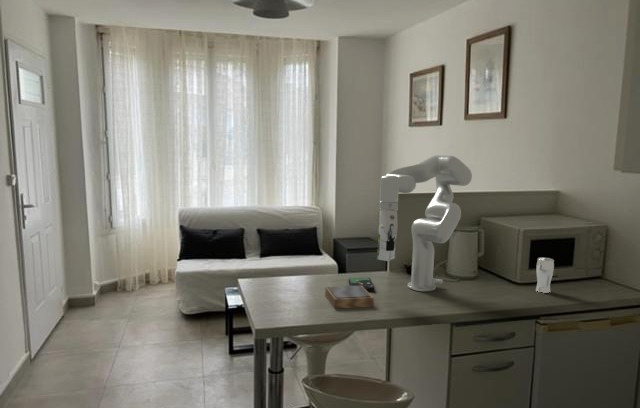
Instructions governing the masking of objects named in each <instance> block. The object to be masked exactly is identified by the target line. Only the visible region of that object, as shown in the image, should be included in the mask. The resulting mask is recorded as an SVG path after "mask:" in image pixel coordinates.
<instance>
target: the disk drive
mask: <svg viewBox="0 0 640 408" xmlns="http://www.w3.org/2000/svg"><path fill="white" fill-rule="evenodd" d="M348 284H349V285H348V286H363V287H364V288H365V289H366V290H367V291H368V292H369V293H375V286H374V284H373V281H372V279H371V277H349V278H348Z"/></svg>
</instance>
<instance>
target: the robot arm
mask: <svg viewBox="0 0 640 408" xmlns="http://www.w3.org/2000/svg"><path fill="white" fill-rule="evenodd" d="M434 178H435V185H436V191H435V194H434V195H433V196H432V198H431V200H430V202H429V203H428V205H427V206H426V209H425V211H424V216H425V218H424V217H421V218H417V219H415V220H414V221H413V222H412V224H411V228H410V229H411V237H412V257H411V259H412V260H411V261H412V262H411V276H410V278H411V279H410V281H409V282H407V288H408V289H411V290H413V291H416V292H433V291H435V290H436V289H437V286H436V285H437V284H438V285H439V284H442V285H443V283H444V281H443V279H442V278H441V279H438V278H434V264H435V263H434V261H435V247H434V244H433V243H437V244H445V243H446V242H448V240H449V239H450V238H451V236H452V234H453V233H454V231H455V229H456V227H457V226H458V224H459V221H460V220H461V217H462V210H461V207H460V206H459V205H458V204H457V203H456V202H454V203H453V201H454V192H453V190H452V188H451V186H458V187H459V186H461V187H463V186H468V185H469V184H470V183H471V181H472V178H473V174H472V172H471V169H470V168H469V167H468V166H467V165H466V164H465V163H464V162H463V161H461V160H460V159H459V158H458V157H456V156H453V155H440V154H439V155H433V156H431V157H428V158H427V159H424V160H423V161H420V162H419V163H415V164H412V165H407V166H403V167H399V168H396V169H393V170H392V171H390V172H387V173H386V174H385V175H382V176H381V177H380V183H379V185H380V186H379V201H378V203H379V205H378V208H379V210H380V215H379V225H383V228H384V233H385V234H386V235H387V241H386V250H387V251H394V241H395V235H396V234H397V235H398V210H399V209H398V208H399V194H400V193H402V194H410V193H412V192H413V191H414V190H415V189H416V187H417V184H420V183H425V182H426V183H427V182H428V181H430V180H431V179H434ZM389 229H390V230H391V233H388V232H389ZM389 235H390V237H389Z"/></svg>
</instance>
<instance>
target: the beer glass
mask: <svg viewBox="0 0 640 408" xmlns="http://www.w3.org/2000/svg"><path fill="white" fill-rule="evenodd" d="M554 262H555V260H554V259H553V258H550V257H538V258H537V262H536V269H535V270H536V281H537V283H536V287H535V292H537V291H538V292H537V293H539V292H543V293H542V294H544V293H549V292H550V293H551V281H552V278H553V275H554V268H555V263H554ZM550 293H549V294H550Z"/></svg>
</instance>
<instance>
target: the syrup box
mask: <svg viewBox="0 0 640 408" xmlns="http://www.w3.org/2000/svg"><path fill="white" fill-rule="evenodd" d="M388 233H391V230H390V229H389V232H388ZM377 234H378V235H377V236H378V237H377V249H376V250H377V252H376V254H377V255H376V260H379V261H385V262H391V261H393V260H395V259H396V252H397V251H396V249H397V247H396V246H397V235H398V233H397V234H396V235H395V241H394V251H387V250H386V241H387V235H386V234H385V233H384V228H383V225H380V224H379V225H378V233H377ZM389 237H390V235H389Z"/></svg>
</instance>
